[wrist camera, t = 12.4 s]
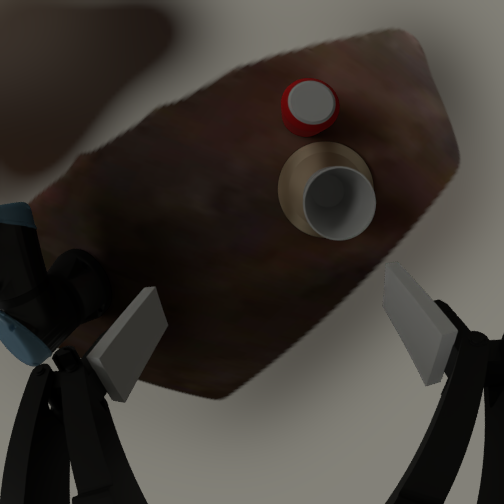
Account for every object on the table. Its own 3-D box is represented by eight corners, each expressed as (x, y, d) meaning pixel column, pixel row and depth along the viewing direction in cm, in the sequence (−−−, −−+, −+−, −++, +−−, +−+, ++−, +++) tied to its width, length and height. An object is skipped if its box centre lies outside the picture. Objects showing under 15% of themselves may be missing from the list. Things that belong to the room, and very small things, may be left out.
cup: (364, 200, 37) (387, 217, 28) (317, 229, 40) (326, 253, 30) (336, 151, 35) (352, 152, 26) (287, 181, 38) (288, 191, 28)
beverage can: (275, 103, 35) (271, 83, 24) (317, 91, 33) (329, 68, 22) (290, 142, 37) (293, 138, 25) (331, 130, 35) (351, 122, 24)
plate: (283, 240, 42) (283, 241, 41) (272, 146, 37) (271, 145, 36) (373, 232, 40) (375, 234, 39) (368, 139, 35) (370, 139, 34)
